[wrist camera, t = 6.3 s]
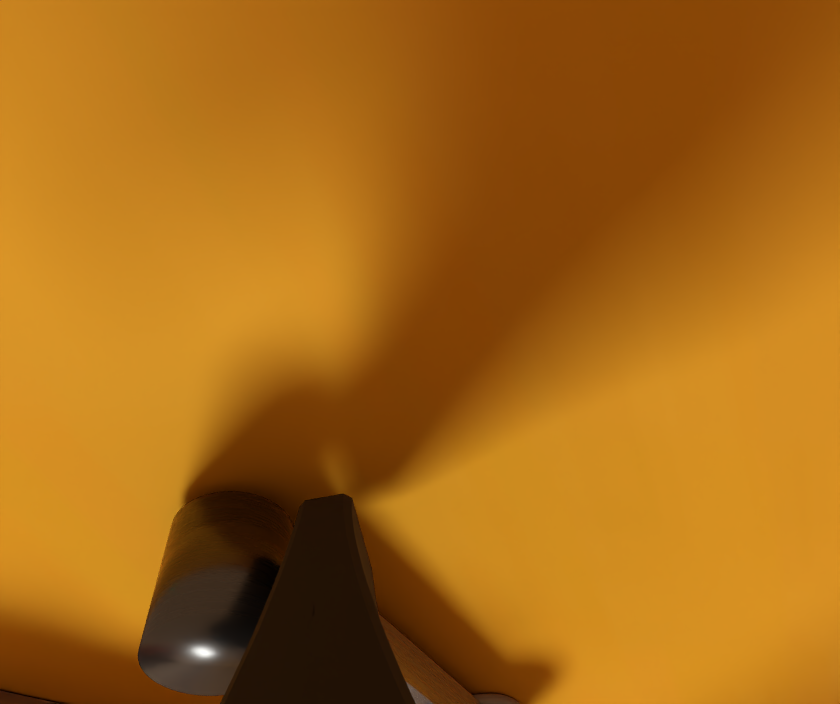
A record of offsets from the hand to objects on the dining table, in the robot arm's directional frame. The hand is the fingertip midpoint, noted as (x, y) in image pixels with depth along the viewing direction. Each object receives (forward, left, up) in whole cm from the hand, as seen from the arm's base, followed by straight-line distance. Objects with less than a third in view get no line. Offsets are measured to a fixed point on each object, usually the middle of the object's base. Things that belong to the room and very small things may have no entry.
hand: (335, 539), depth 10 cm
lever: (-3, +3, -1) cm, 4 cm away
